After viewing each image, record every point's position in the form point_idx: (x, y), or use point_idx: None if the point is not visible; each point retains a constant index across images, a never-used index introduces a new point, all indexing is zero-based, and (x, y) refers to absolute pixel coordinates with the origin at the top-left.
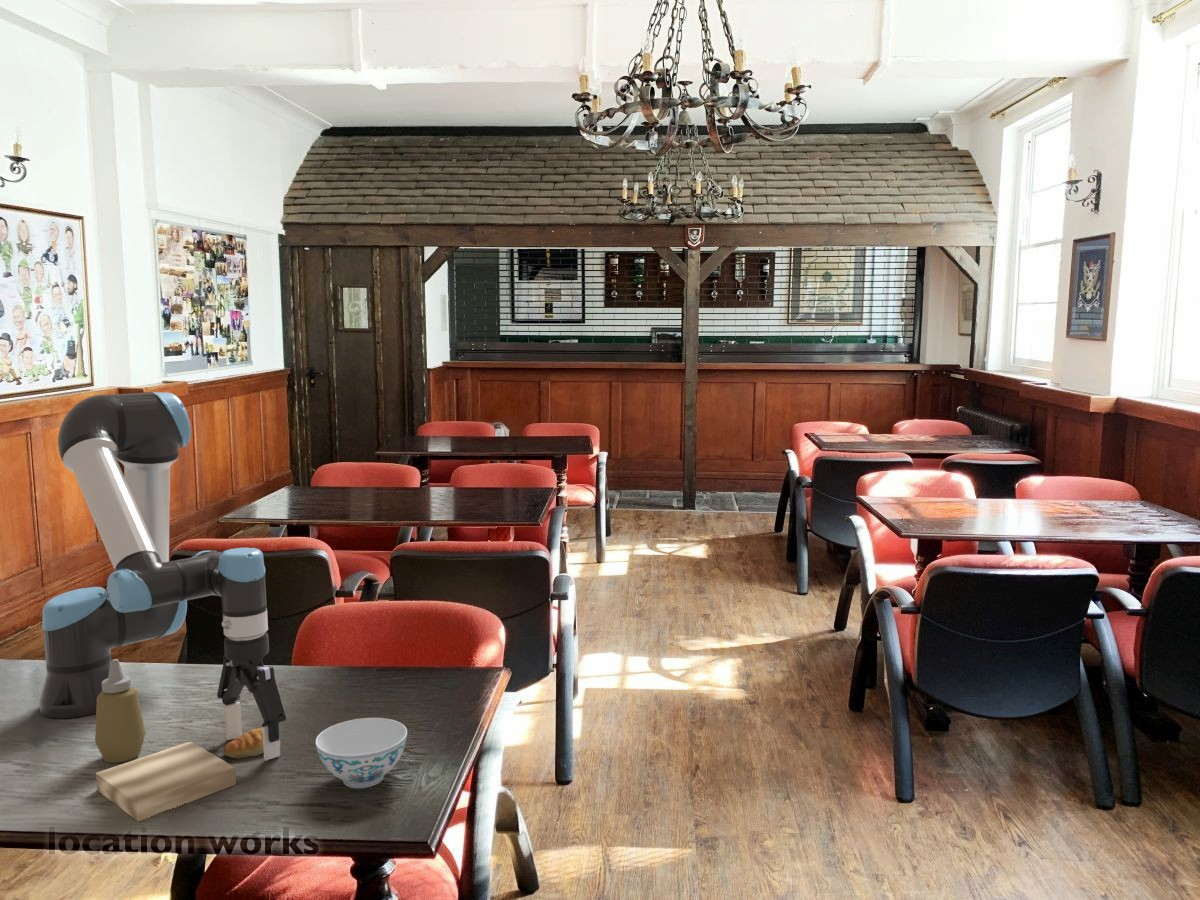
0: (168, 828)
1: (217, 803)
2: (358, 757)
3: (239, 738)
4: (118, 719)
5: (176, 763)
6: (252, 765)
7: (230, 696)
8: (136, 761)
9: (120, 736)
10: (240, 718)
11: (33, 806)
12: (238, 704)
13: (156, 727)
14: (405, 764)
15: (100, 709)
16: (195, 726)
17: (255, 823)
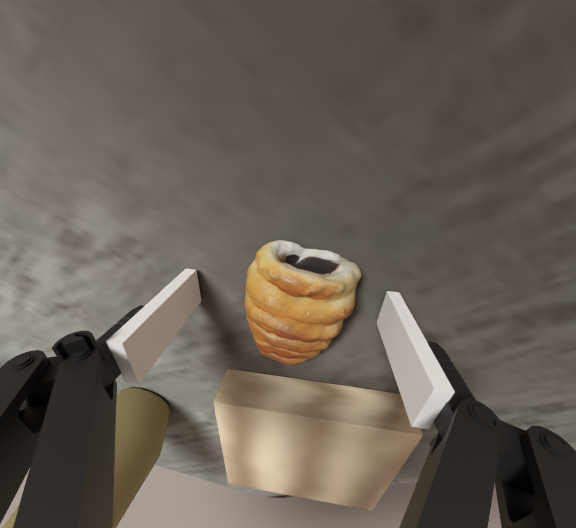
0: (420, 474)
1: (433, 433)
2: None
3: (280, 349)
4: (117, 523)
5: (294, 450)
6: (368, 342)
7: (111, 421)
8: (232, 460)
9: (147, 475)
10: (167, 303)
11: (225, 477)
12: (128, 344)
13: (37, 328)
14: None
15: None
16: (67, 290)
17: None
